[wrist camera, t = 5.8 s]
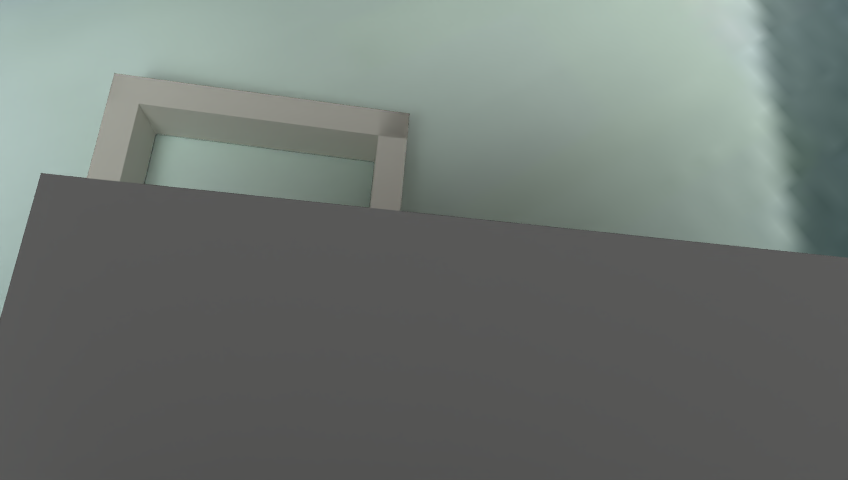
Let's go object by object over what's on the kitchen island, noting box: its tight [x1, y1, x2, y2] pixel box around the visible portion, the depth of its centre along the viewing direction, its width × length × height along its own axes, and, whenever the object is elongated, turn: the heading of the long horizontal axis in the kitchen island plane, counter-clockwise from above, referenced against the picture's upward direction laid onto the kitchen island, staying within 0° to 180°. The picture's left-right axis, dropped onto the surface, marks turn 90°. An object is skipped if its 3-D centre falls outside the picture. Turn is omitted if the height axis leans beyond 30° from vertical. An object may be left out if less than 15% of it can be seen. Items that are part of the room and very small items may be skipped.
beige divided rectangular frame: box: [87, 73, 409, 211], centre depth 20 cm, size 20×10×3 cm, turn 176°
